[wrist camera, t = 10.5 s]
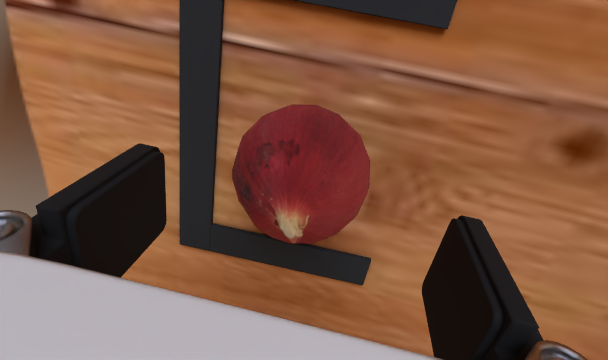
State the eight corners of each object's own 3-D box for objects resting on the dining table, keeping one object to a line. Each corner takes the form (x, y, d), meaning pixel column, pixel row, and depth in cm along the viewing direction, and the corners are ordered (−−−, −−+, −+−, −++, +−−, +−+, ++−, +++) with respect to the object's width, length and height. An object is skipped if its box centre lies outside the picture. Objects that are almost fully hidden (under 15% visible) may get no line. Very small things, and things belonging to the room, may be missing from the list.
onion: (246, 170, 19) (184, 263, 12) (274, 71, 17) (215, 116, 10) (343, 205, 20) (335, 316, 13) (385, 112, 17) (407, 186, 10)
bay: (182, -75, 15) (179, -76, 14) (463, -24, 14) (465, -25, 14) (181, 241, 22) (179, 244, 22) (362, 282, 22) (362, 285, 22)
